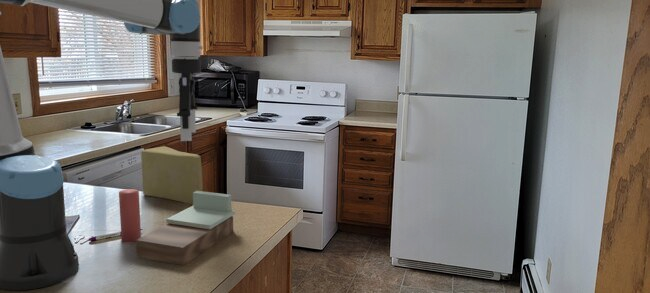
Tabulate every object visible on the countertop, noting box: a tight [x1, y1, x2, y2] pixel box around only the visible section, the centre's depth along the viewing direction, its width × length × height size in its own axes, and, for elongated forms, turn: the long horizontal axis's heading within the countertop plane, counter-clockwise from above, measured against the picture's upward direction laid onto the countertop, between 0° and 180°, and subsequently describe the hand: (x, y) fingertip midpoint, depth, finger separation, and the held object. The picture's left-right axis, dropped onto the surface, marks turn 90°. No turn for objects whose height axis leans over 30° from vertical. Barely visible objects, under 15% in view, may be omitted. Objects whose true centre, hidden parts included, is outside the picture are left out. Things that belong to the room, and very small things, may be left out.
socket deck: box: [135, 215, 234, 266], centre depth 117 cm, size 22×12×4 cm, turn 162°
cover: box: [166, 191, 236, 229], centre depth 122 cm, size 12×12×5 cm
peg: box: [118, 188, 142, 244], centre depth 118 cm, size 4×4×12 cm
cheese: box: [140, 146, 203, 205], centre depth 152 cm, size 22×10×15 cm, turn 55°
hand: (188, 136), depth 136 cm, fingers open, 13 cm apart
